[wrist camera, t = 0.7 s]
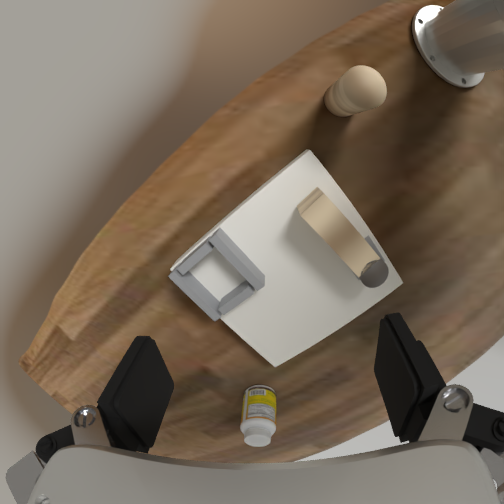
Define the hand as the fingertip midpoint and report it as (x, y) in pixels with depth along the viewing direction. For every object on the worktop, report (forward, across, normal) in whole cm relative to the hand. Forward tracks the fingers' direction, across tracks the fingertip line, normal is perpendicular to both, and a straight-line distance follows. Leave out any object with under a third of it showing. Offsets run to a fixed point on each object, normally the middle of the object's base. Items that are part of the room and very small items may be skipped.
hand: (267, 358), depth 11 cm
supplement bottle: (+24, +6, +31) cm, 40 cm away
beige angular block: (+21, -7, +3) cm, 22 cm away
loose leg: (+24, -10, -12) cm, 29 cm away
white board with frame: (+24, -1, +7) cm, 25 cm away
